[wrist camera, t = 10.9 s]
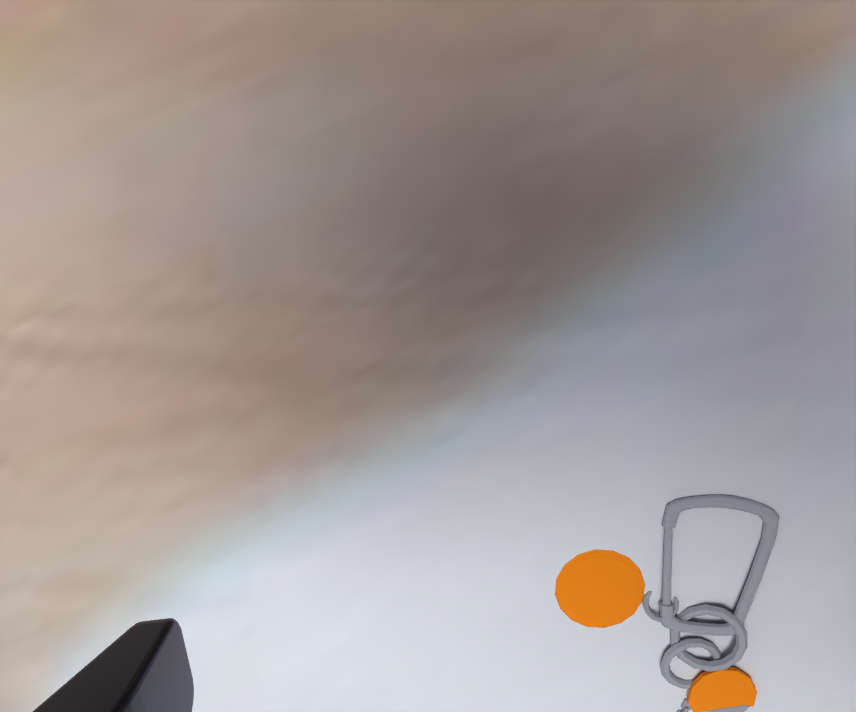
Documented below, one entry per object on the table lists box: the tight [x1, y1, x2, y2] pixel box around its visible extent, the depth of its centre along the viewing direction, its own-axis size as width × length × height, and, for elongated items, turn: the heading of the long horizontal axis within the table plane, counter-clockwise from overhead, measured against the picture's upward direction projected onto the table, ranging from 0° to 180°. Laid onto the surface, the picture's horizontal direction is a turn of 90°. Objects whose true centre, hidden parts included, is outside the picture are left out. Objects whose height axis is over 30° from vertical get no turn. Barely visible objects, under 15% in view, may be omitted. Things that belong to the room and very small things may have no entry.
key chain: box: [555, 495, 779, 712], centre depth 23 cm, size 13×7×1 cm, turn 175°
